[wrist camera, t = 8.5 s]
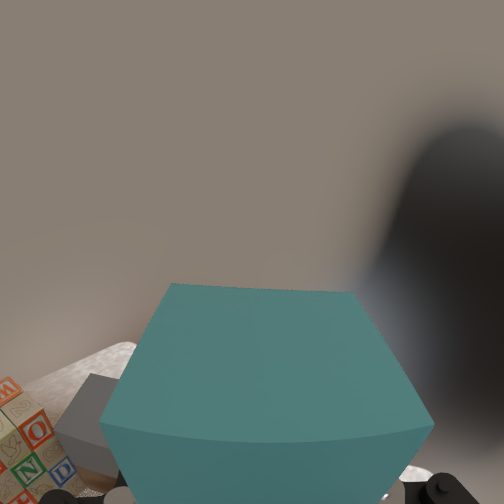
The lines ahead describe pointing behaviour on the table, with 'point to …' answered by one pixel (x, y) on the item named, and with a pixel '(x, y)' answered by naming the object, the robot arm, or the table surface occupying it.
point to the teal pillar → (262, 401)
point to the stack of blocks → (30, 451)
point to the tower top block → (88, 427)
